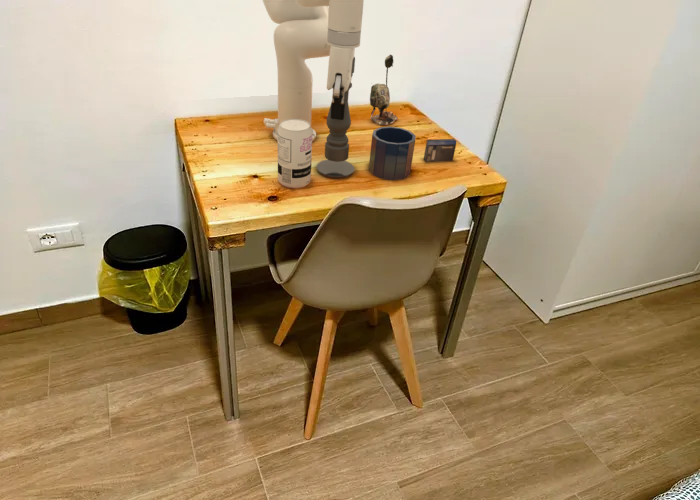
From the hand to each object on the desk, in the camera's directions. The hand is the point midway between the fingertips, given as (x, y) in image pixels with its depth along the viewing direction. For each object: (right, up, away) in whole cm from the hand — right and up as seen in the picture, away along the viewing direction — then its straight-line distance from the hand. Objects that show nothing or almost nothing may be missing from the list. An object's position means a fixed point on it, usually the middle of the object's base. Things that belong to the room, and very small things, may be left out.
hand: (339, 113), depth 129 cm
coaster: (-1, -12, +9) cm, 15 cm away
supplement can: (-11, -16, +2) cm, 20 cm away
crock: (+13, -12, +11) cm, 21 cm away
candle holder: (-1, -9, +7) cm, 12 cm away
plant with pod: (+13, +8, +39) cm, 42 cm away
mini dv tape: (+27, -8, +19) cm, 34 cm away
